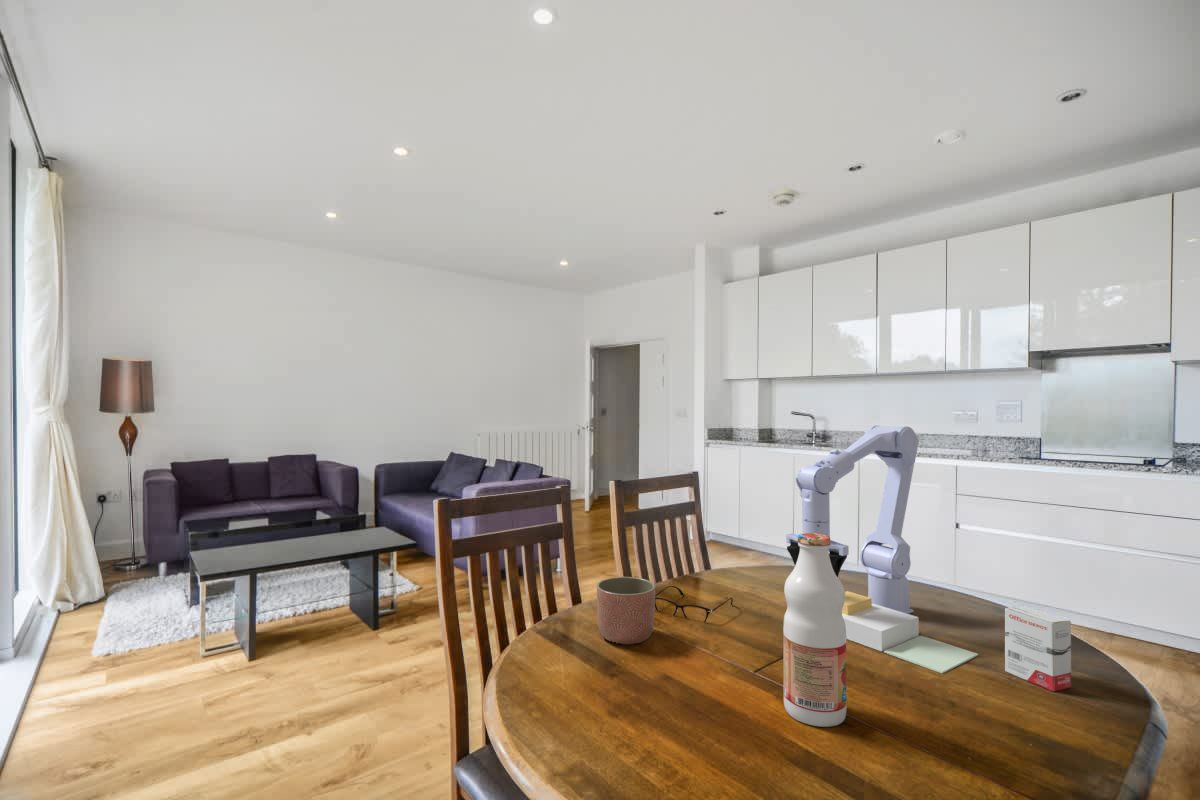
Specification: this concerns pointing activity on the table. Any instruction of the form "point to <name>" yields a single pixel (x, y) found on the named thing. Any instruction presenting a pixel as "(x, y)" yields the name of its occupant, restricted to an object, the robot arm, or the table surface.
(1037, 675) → the ink box
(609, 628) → the planter
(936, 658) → the mat
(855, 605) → the yellow rectangular block
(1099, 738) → the table surface
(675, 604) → the eyeglasses
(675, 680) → the table surface
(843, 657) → the fruit juice
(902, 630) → the white box
